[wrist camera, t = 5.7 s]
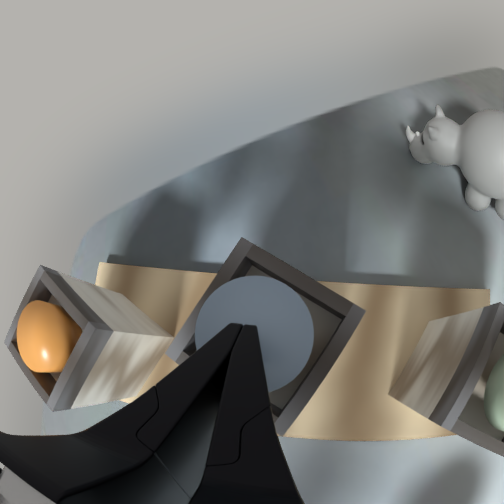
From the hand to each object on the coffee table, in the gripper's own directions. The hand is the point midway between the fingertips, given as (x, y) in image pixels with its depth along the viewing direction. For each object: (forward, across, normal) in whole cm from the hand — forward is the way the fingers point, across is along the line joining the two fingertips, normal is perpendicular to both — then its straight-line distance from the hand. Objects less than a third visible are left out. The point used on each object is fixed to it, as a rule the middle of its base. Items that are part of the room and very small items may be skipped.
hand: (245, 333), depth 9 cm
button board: (+8, 0, +10) cm, 13 cm away
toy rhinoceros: (+20, -15, -1) cm, 25 cm away
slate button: (+2, 0, +2) cm, 3 cm away
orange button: (+1, +12, +5) cm, 13 cm away
